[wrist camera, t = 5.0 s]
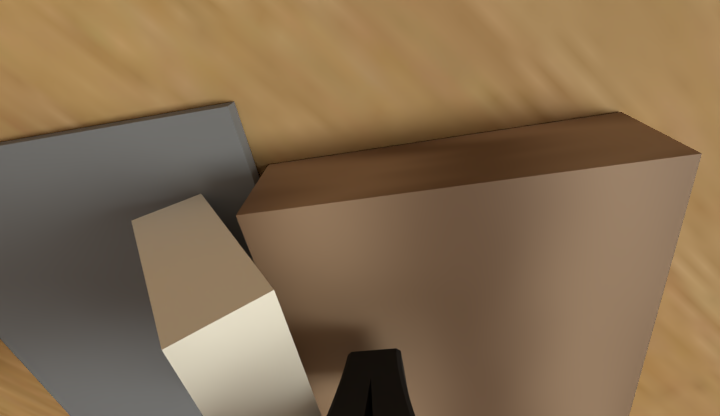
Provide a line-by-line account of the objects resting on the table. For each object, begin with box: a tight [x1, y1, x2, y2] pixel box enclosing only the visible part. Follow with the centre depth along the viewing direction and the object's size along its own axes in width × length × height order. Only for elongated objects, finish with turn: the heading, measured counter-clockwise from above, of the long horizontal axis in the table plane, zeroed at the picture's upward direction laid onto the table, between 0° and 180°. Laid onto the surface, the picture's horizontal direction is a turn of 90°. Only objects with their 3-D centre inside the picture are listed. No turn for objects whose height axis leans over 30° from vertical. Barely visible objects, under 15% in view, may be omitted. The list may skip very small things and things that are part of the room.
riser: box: [236, 112, 701, 416], centre depth 12 cm, size 10×10×3 cm
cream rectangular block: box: [131, 194, 322, 416], centre depth 11 cm, size 6×9×2 cm
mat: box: [0, 102, 260, 416], centre depth 15 cm, size 13×16×1 cm
